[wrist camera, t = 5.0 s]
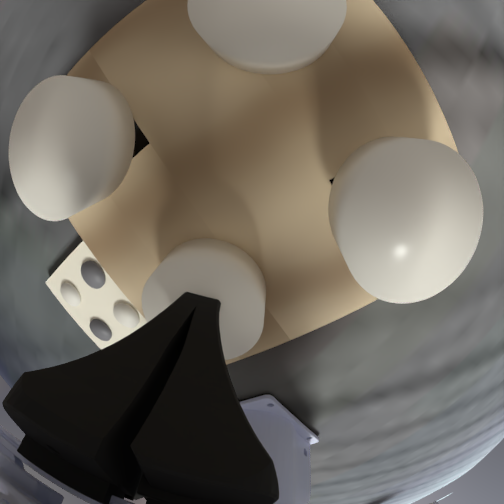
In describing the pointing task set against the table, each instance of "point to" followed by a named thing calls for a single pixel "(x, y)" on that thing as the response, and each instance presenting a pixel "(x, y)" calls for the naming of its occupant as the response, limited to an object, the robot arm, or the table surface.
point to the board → (249, 155)
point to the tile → (94, 298)
